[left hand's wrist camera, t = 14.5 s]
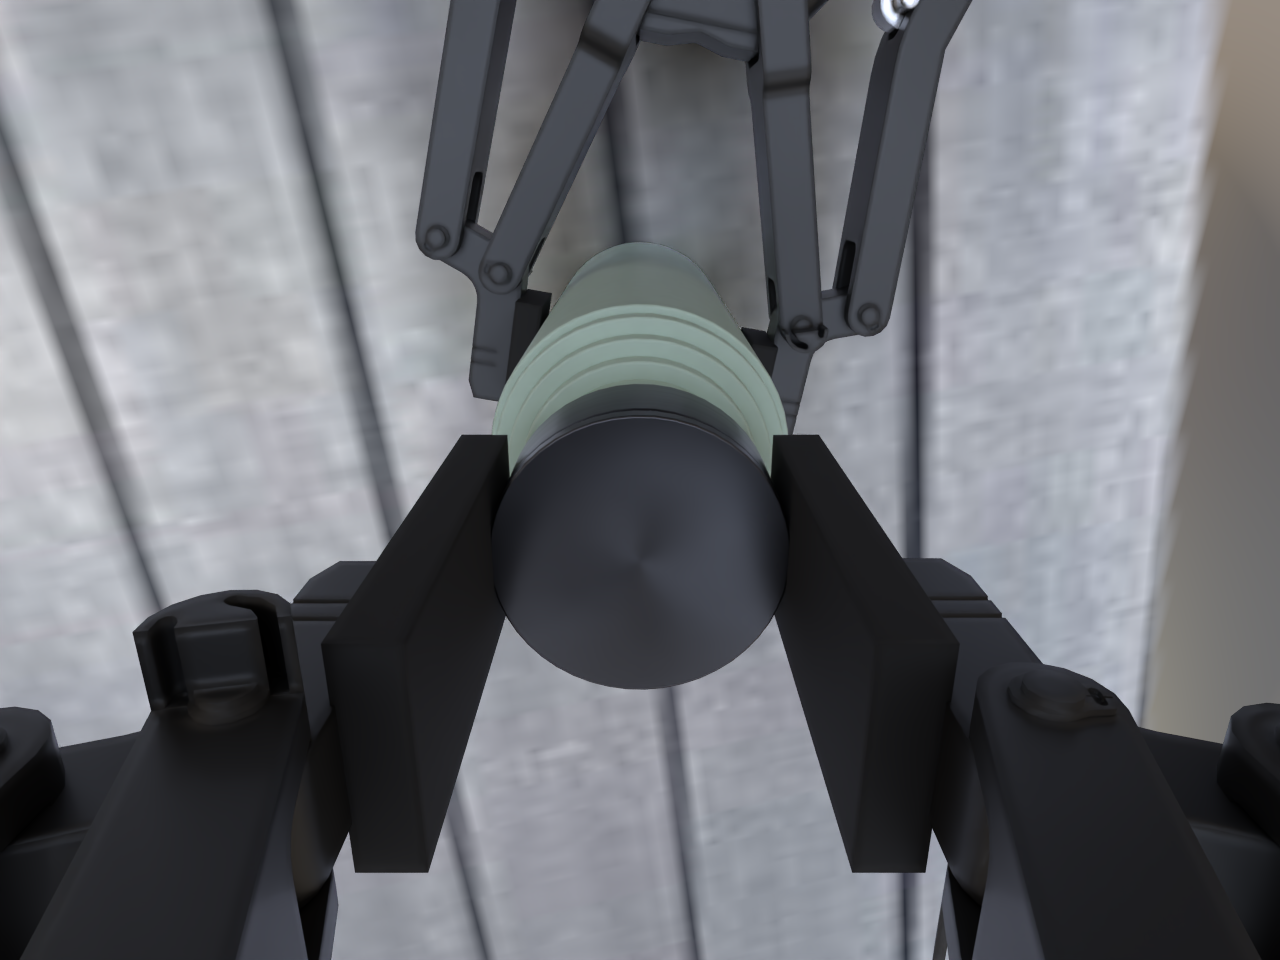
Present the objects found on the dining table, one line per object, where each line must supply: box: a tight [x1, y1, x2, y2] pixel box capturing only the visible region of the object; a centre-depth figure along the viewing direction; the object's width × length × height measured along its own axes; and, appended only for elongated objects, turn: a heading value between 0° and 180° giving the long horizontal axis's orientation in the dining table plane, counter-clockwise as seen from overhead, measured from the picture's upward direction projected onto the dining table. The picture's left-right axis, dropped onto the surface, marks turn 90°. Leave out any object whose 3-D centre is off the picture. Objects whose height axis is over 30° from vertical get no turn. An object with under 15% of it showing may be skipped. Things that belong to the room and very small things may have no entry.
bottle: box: [492, 242, 788, 478], centre depth 22 cm, size 6×6×20 cm
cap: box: [491, 384, 790, 689], centre depth 13 cm, size 4×4×2 cm
